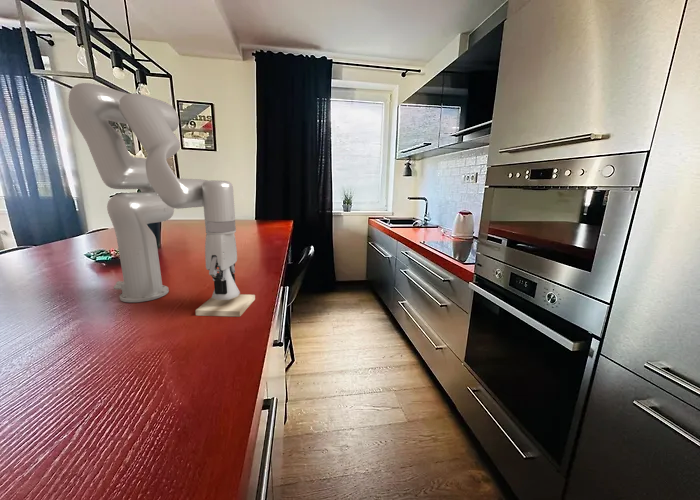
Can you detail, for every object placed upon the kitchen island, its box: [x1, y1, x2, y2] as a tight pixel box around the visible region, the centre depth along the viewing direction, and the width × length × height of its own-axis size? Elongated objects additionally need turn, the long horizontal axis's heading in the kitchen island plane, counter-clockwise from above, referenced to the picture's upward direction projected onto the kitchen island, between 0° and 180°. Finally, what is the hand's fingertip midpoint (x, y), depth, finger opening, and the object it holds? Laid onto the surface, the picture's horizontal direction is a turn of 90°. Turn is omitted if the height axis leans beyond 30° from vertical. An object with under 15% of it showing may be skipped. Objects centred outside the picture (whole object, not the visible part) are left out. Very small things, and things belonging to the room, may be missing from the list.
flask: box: [211, 267, 241, 300], centre depth 83 cm, size 7×7×10 cm
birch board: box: [195, 293, 256, 318], centre depth 85 cm, size 12×12×2 cm
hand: (225, 289), depth 84 cm, fingers closed on flask, 4 cm apart
